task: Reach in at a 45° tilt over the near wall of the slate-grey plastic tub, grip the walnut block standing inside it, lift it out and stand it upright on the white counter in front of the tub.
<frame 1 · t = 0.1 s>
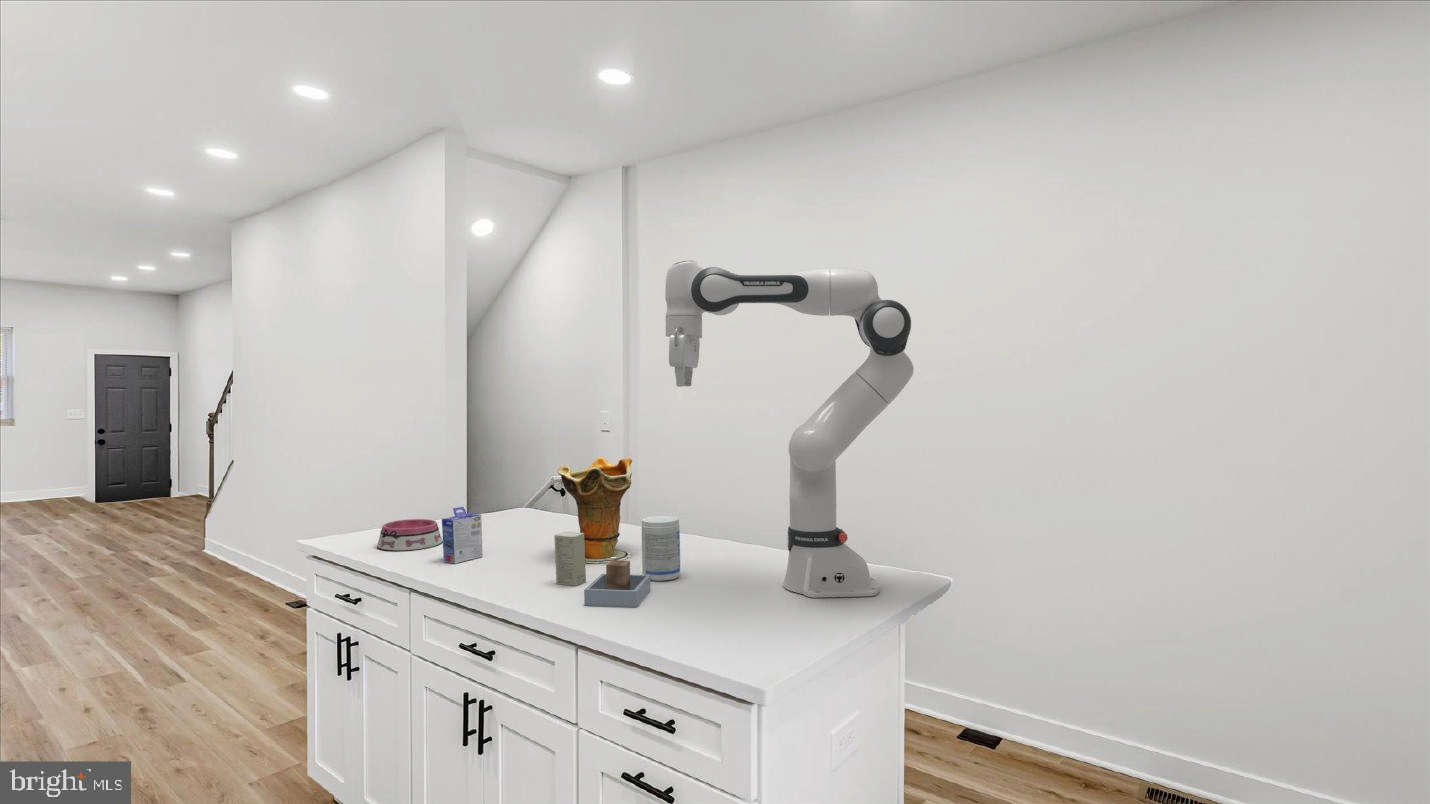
hand: (684, 386, 178), 48 cm above the counter, tool pointing down, fingers open, 8 cm apart
supplement tub: (661, 577, 185), on the counter
dog bowl: (410, 546, 225), on the counter
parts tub: (618, 597, 168), on the counter
decorative vase: (599, 556, 208), on the counter
ink cartridge box: (463, 560, 205), on the counter
skincare box: (570, 583, 180), on the counter
walnut block: (618, 580, 168), in the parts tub
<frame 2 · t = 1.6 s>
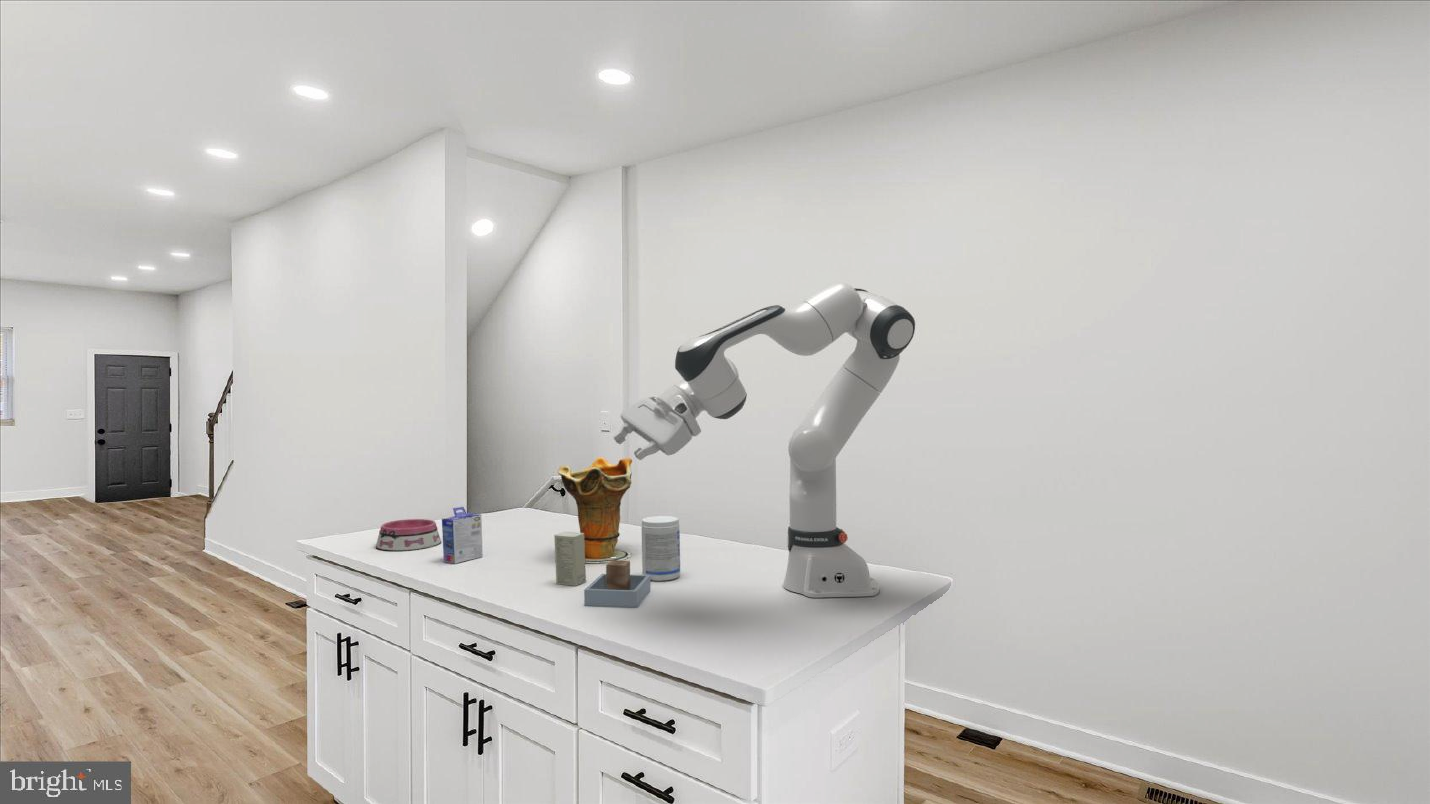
hand: (626, 448, 158), 35 cm above the counter, tool tilted 55°, fingers open, 8 cm apart
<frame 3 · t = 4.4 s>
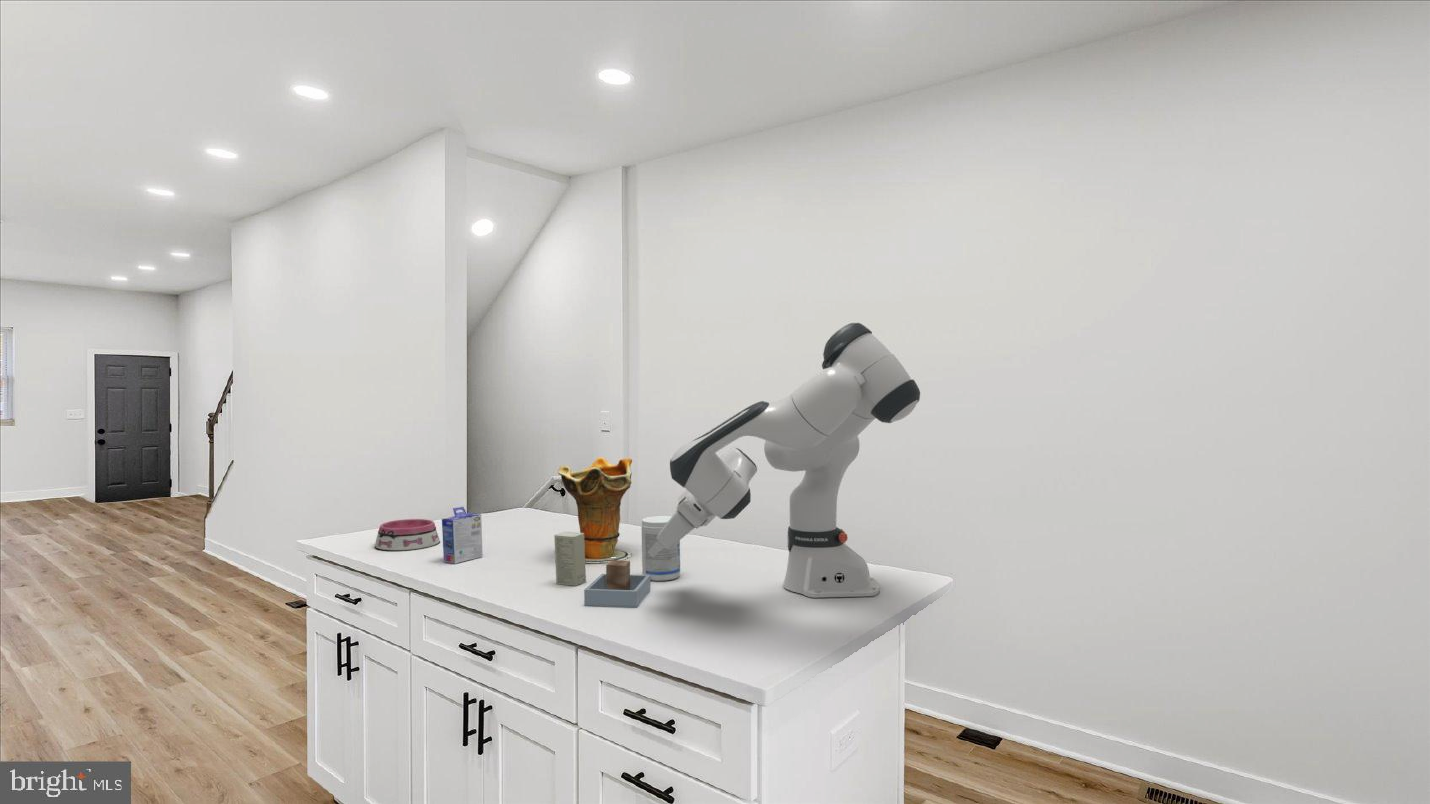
hand: (655, 549, 166), 11 cm above the counter, tool tilted 45°, fingers open, 8 cm apart
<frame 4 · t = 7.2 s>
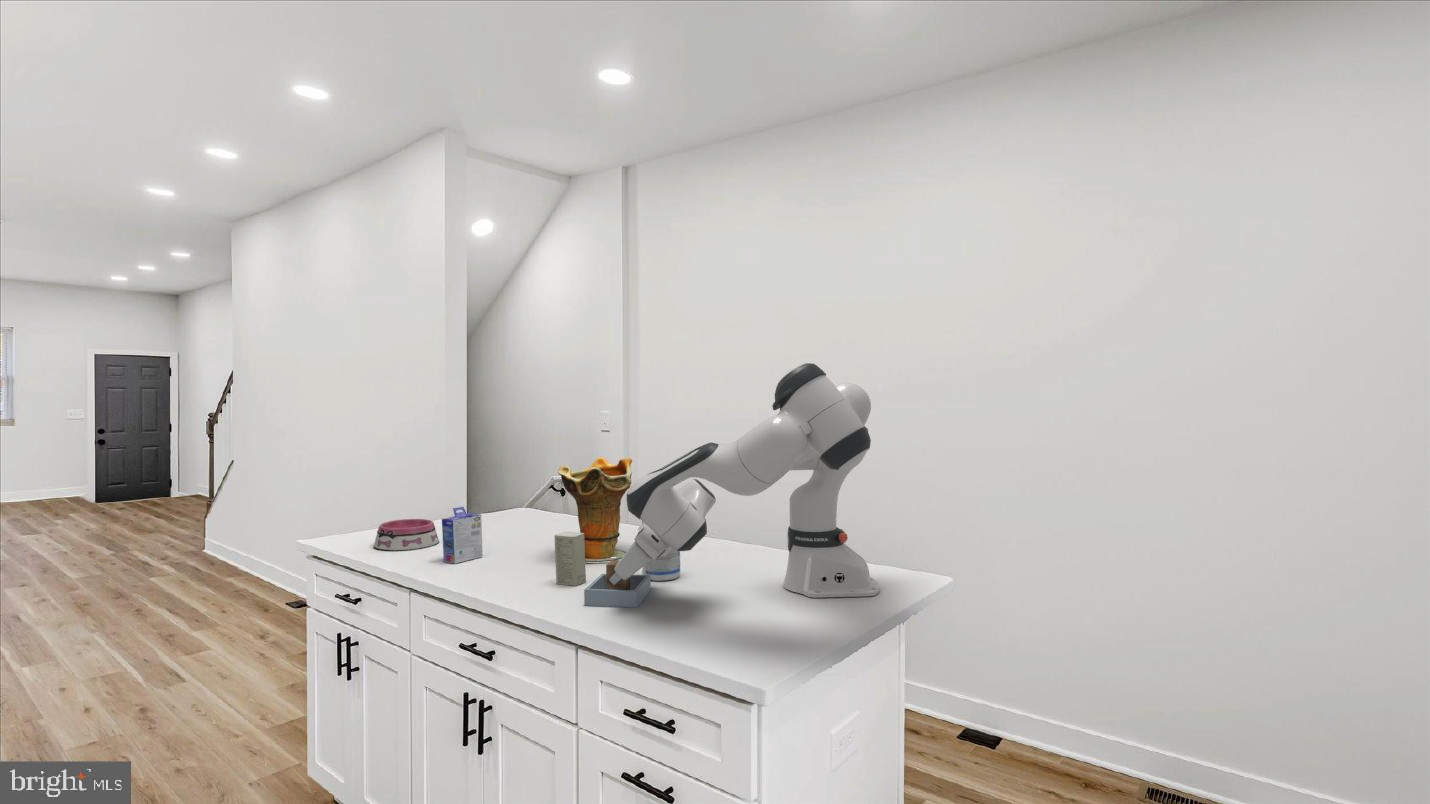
hand: (615, 578, 168), 4 cm above the counter, tool tilted 45°, fingers closed on walnut block, 4 cm apart
walnut block: (618, 580, 168), in the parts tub, touching gripper
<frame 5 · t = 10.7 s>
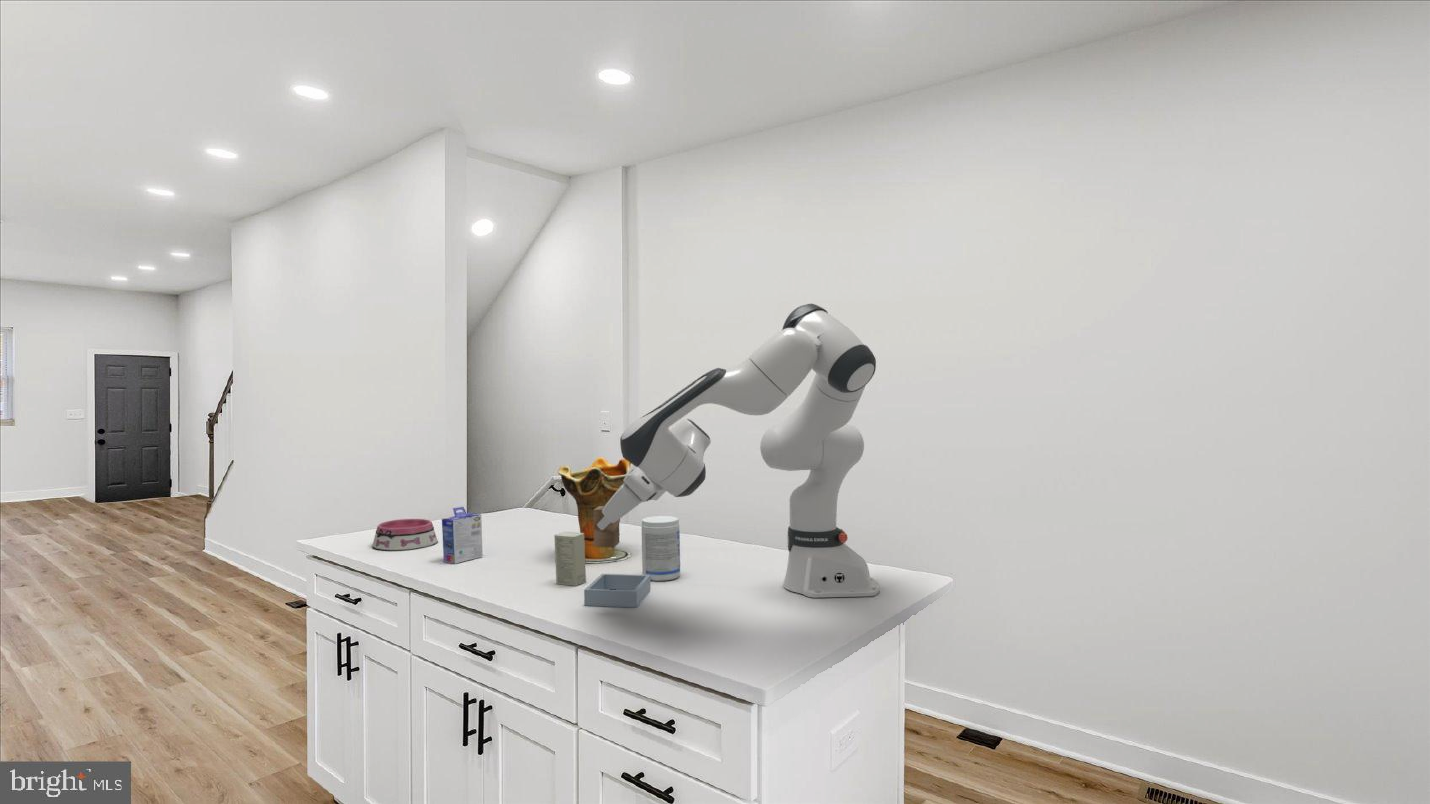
hand: (603, 524, 159), 18 cm above the counter, tool tilted 45°, fingers closed on walnut block, 4 cm apart
walnut block: (606, 526, 159), point 18 cm above the counter, touching gripper
when the fingers open (6 cm above the counter, at t = 14.3 s): walnut block drops 1 cm, on the counter.
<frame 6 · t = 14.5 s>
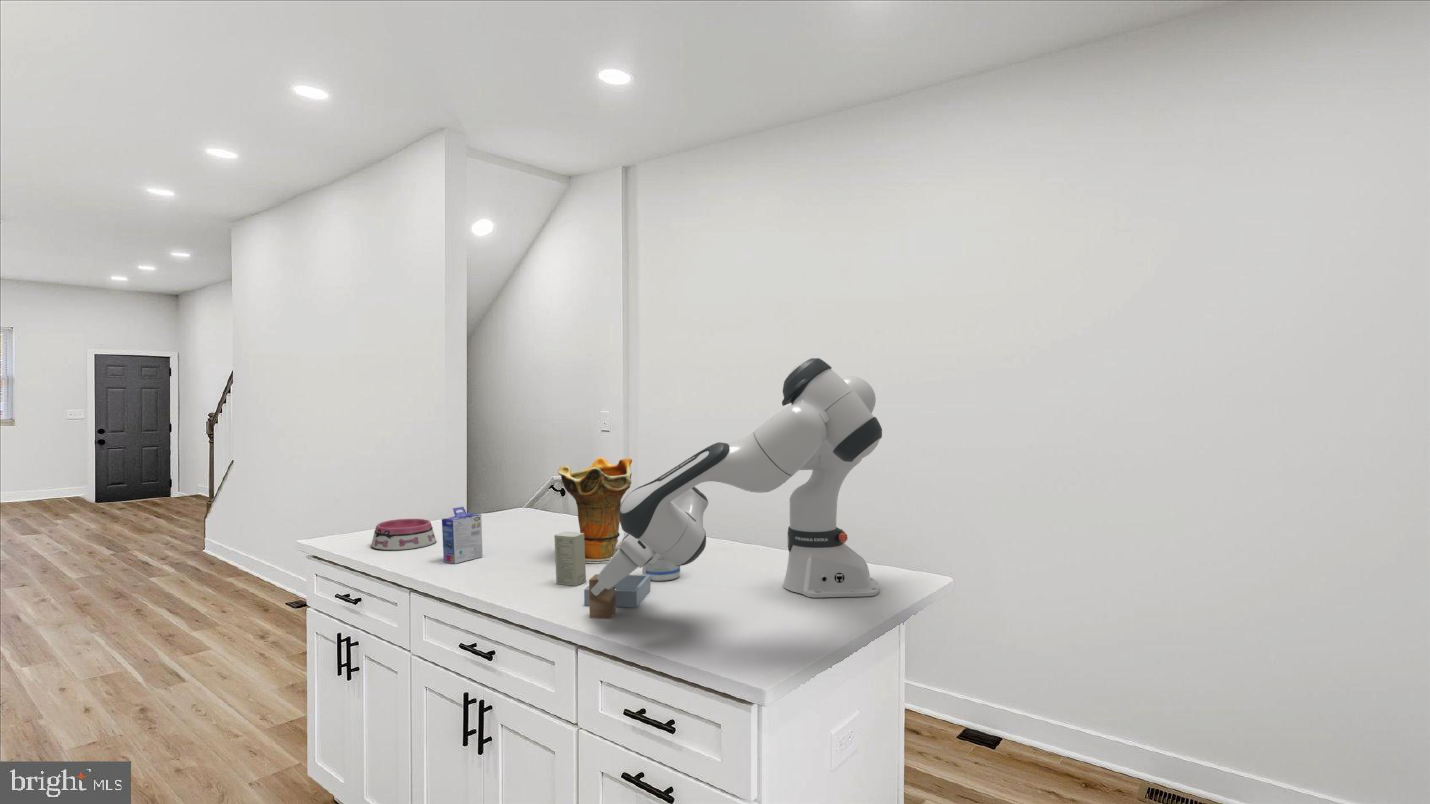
hand: (599, 587, 156), 6 cm above the counter, tool tilted 45°, fingers open, 7 cm apart
walnut block: (602, 596, 155), on the counter
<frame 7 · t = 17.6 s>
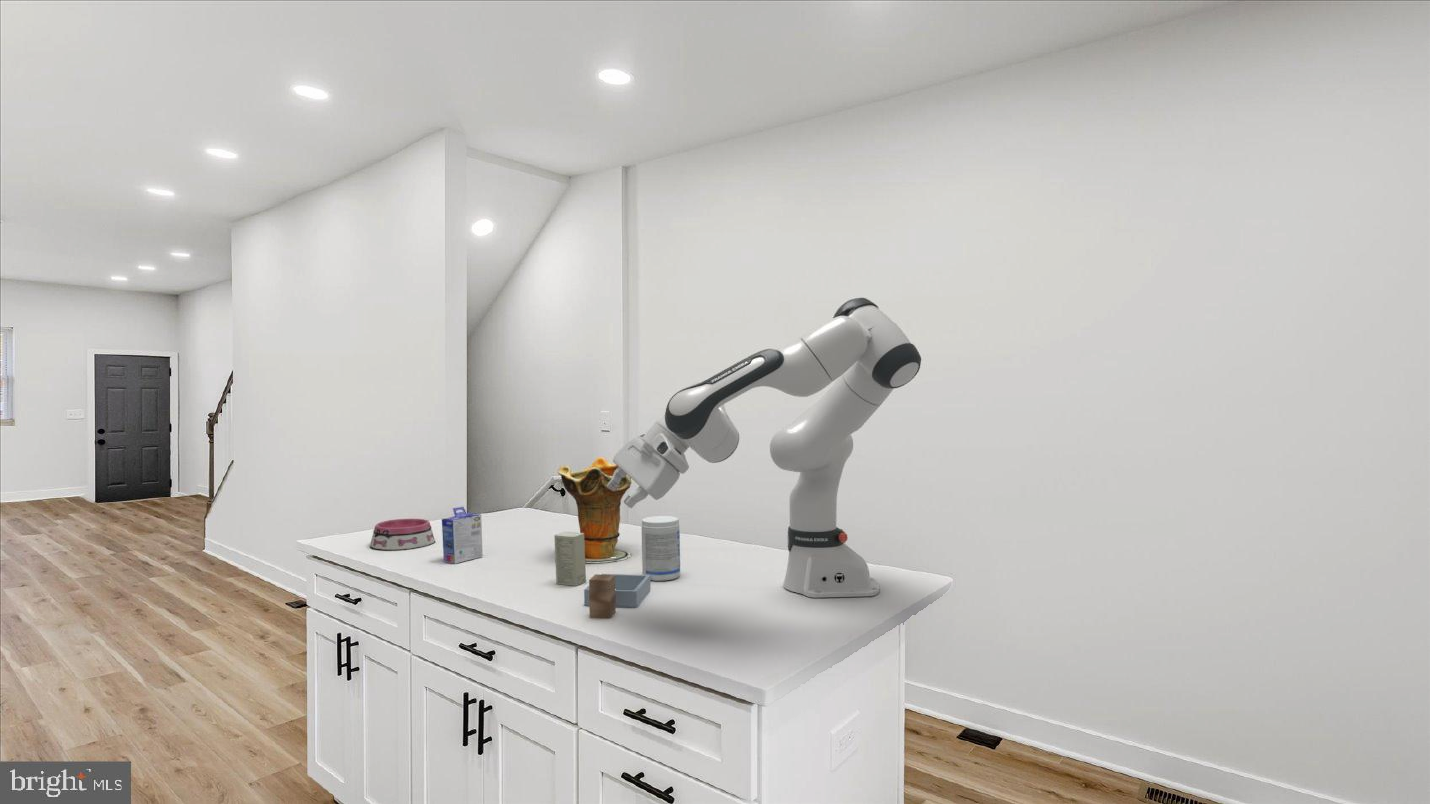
hand: (618, 496, 153), 25 cm above the counter, tool tilted 40°, fingers open, 8 cm apart
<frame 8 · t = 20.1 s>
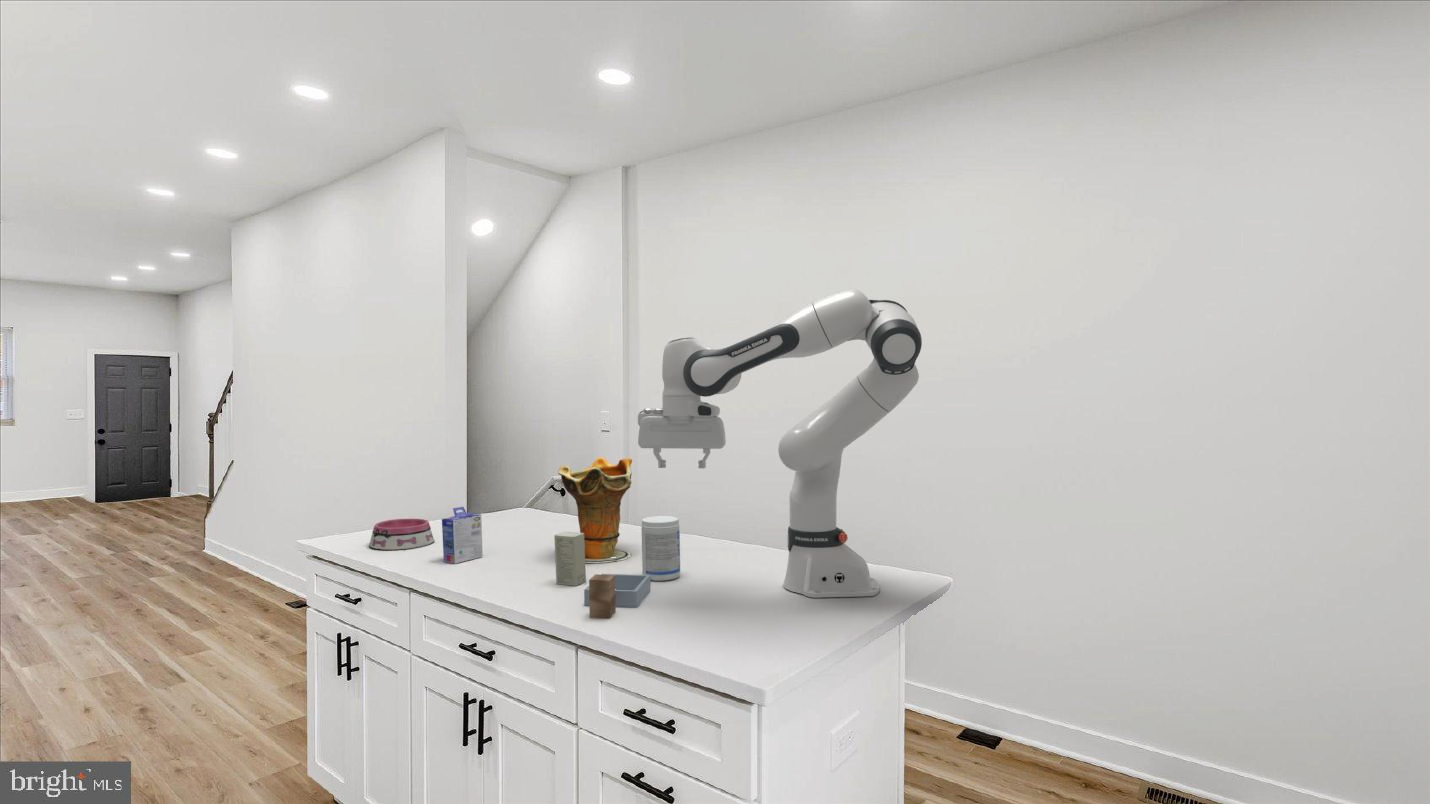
hand: (682, 467, 171), 29 cm above the counter, tool pointing down, fingers open, 8 cm apart
at the end: walnut block inside the target area (0.8 cm from its centre), on the counter; walnut block tilted 0°; the gripper is holding nothing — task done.
